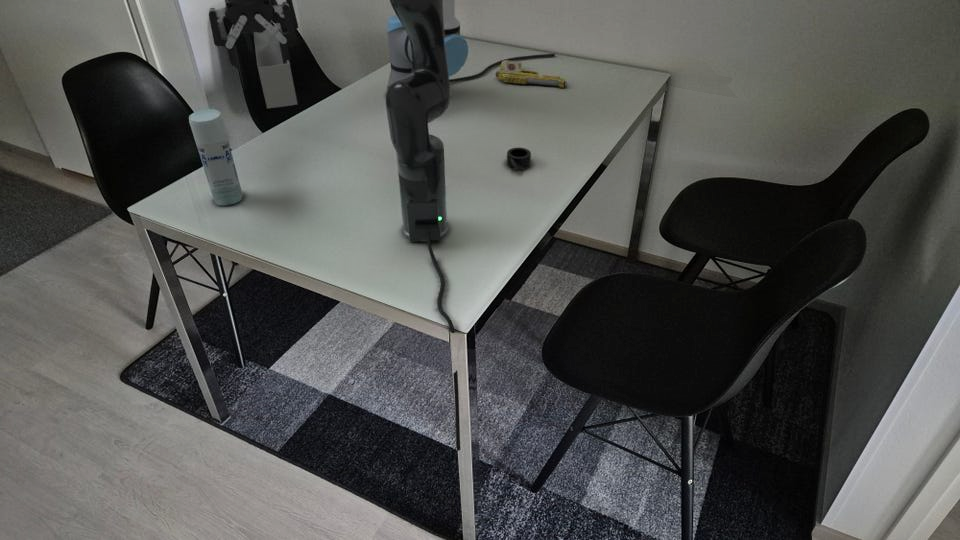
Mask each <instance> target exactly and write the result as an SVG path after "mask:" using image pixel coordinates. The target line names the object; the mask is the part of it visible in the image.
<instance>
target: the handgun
mask: <svg viewBox="0 0 960 540" xmlns="http://www.w3.org/2000/svg"><path fill="white" fill-rule="evenodd" d="M503 60H504V61H503V62H502V63H501V64H499V68H500V70H496V72H495V73H494V75H495V77H496V78H497V79H498V80H500V81H502V82H504V83H511V84H522V85H526V84H532V85H541V86H551V87H552V86H553V87H557V88H562V89H563V88H564V87H565V88H566V87H567V81H566V77H565V78H563V77H561V76H560V75H548V74H547V75H546V74H539V72H538V71H534V70H526V69H523V68H522V65H523V64H522V63H521V61H518V60H512V61H508V60H505V59H503Z"/></svg>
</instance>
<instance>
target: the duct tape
mask: <svg viewBox="0 0 960 540" xmlns="http://www.w3.org/2000/svg"><path fill="white" fill-rule="evenodd" d="M531 157H532V152H531V150H529V149H528V148H526V147H512V148H510V149H508V150H507V151H506V166H507V167H509V168H510V169H512V170H513V169H514V170H520V171H524V169H527V168H529V167H530V166H531Z"/></svg>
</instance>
